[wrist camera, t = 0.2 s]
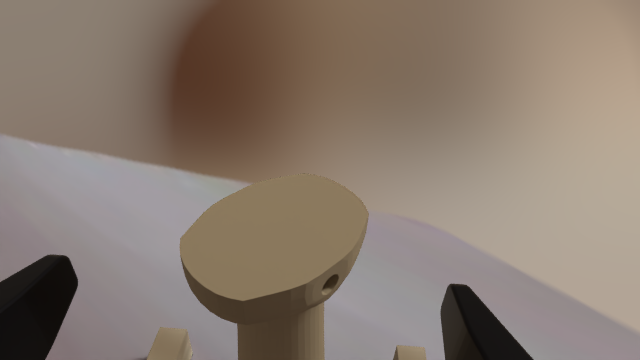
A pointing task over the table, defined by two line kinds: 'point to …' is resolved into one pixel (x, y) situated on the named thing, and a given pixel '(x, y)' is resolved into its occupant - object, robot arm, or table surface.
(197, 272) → the handle
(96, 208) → the table surface
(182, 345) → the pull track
